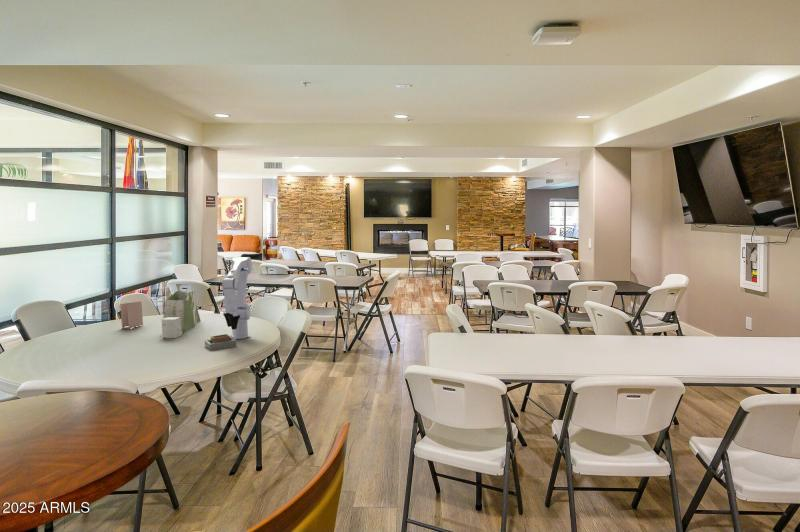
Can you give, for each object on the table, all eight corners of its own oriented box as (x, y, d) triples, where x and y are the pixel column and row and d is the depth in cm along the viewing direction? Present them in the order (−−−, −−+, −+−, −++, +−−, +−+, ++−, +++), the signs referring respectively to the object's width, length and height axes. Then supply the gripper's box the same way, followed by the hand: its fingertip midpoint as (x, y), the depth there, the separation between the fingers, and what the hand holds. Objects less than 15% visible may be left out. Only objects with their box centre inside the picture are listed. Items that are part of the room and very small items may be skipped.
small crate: (211, 345, 248) (210, 336, 247) (227, 342, 252) (226, 334, 252) (213, 347, 243) (213, 338, 243) (230, 344, 248) (229, 335, 248)
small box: (181, 335, 271) (180, 317, 270) (176, 338, 266) (175, 319, 265) (168, 335, 272) (167, 317, 271) (162, 338, 266) (161, 319, 265)
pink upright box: (142, 325, 299) (140, 301, 297) (146, 327, 294) (144, 302, 292) (121, 328, 291) (119, 303, 290) (125, 330, 286) (123, 305, 284)
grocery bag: (188, 332, 278) (185, 292, 276) (162, 334, 276) (159, 293, 274) (201, 320, 310) (199, 284, 307) (178, 322, 308) (176, 285, 305)
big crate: (204, 346, 248) (204, 340, 248) (230, 341, 256) (230, 336, 255) (210, 350, 240) (209, 344, 240) (236, 345, 248) (236, 340, 247)
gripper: (218, 300, 252) (220, 326, 253) (226, 304, 240) (227, 331, 241) (232, 298, 256) (234, 324, 257) (240, 302, 244) (242, 329, 245)
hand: (232, 327), depth 249 cm, fingers open, 7 cm apart
